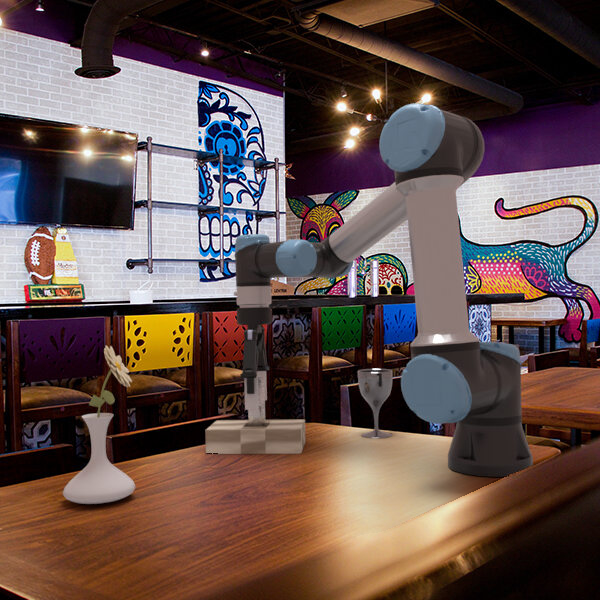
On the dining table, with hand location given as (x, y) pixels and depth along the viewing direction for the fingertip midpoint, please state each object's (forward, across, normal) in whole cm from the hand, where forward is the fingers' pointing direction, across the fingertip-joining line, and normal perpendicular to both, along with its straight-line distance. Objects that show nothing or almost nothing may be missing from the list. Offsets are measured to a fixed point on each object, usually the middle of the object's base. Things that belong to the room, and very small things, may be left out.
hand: (256, 404), depth 154 cm
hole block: (+9, 0, 0) cm, 9 cm away
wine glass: (+10, -13, +26) cm, 30 cm away
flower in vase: (+10, +39, -20) cm, 45 cm away
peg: (+9, 0, 0) cm, 9 cm away
